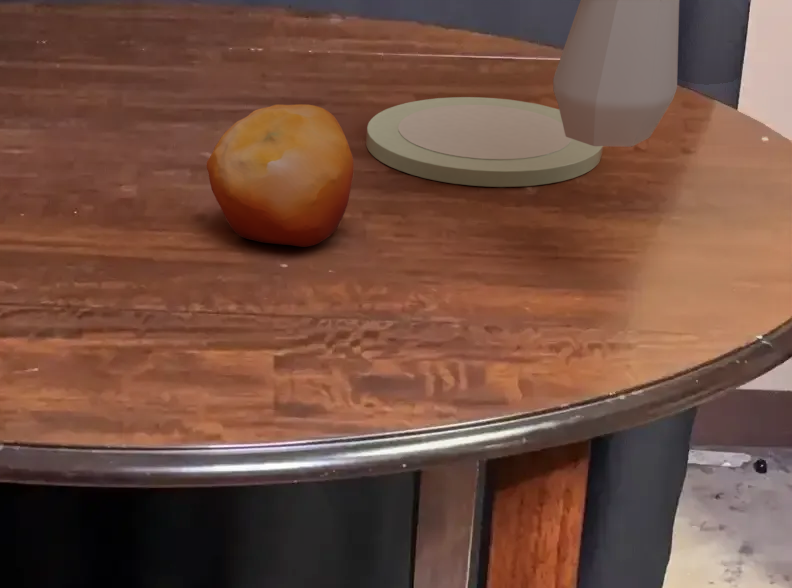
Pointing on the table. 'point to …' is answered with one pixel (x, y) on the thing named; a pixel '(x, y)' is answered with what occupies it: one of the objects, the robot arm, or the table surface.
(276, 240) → the fruit
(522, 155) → the plate
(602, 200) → the table surface
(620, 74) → the salt shaker
